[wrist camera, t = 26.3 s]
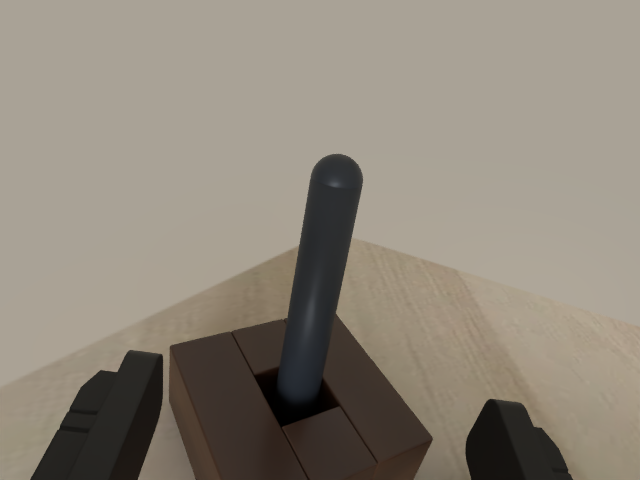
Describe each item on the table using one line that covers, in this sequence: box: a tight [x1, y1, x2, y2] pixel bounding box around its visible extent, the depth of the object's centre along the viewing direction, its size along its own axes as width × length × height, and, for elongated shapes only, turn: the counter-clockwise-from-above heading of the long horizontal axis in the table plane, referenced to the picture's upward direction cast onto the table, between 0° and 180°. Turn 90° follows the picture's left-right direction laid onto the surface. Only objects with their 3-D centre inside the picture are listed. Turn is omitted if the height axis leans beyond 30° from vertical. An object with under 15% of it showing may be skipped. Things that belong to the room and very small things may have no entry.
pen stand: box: [169, 314, 433, 480], centre depth 20 cm, size 8×8×4 cm
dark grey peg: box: [272, 154, 363, 429], centre depth 19 cm, size 2×2×13 cm
